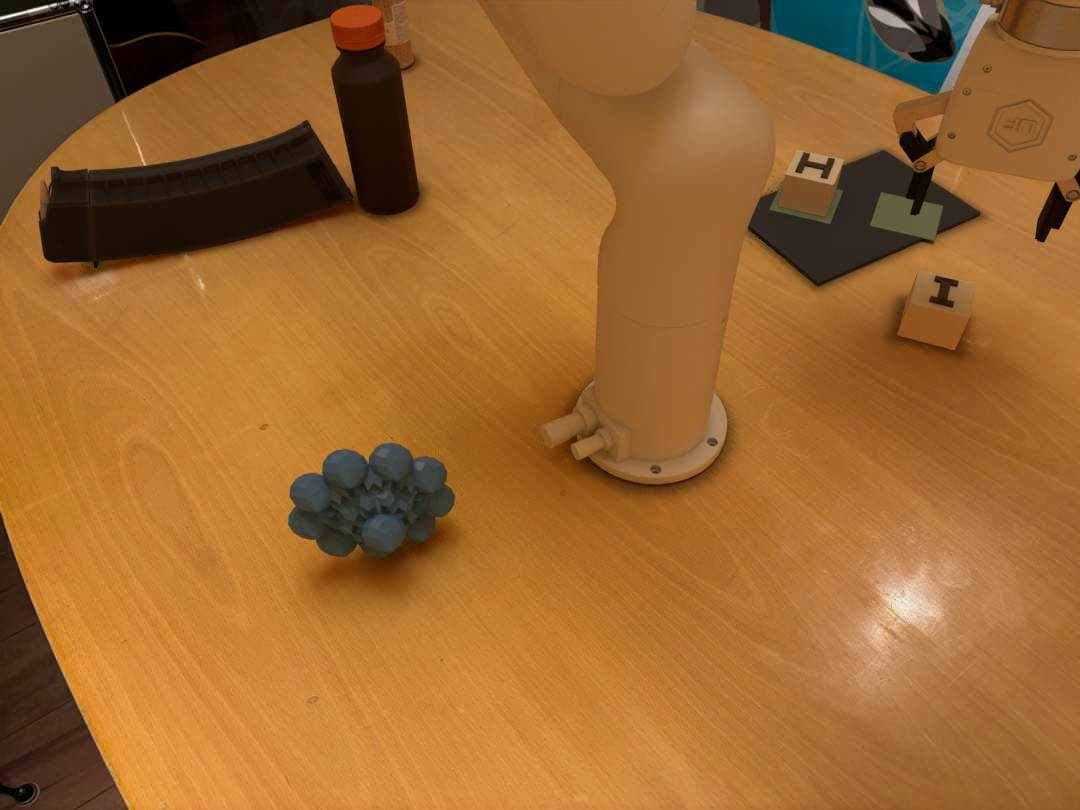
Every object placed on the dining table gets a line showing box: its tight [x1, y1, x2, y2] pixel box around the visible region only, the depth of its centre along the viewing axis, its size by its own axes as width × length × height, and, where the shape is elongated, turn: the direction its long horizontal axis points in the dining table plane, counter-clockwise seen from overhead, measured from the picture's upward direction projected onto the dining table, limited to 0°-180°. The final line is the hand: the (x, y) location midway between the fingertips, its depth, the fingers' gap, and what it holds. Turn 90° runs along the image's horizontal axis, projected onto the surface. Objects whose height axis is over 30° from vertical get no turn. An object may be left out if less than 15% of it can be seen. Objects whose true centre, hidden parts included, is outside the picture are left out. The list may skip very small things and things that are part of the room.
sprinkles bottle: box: [371, 0, 415, 70], centre depth 111 cm, size 5×5×13 cm
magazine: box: [37, 119, 355, 270], centre depth 88 cm, size 17×3×30 cm
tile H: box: [778, 149, 845, 217], centre depth 91 cm, size 5×5×4 cm
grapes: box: [287, 442, 456, 558], centre depth 60 cm, size 12×7×12 cm, turn 112°
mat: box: [747, 149, 982, 287], centre depth 92 cm, size 22×16×1 cm
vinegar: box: [329, 4, 420, 215], centre depth 88 cm, size 7×7×20 cm
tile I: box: [896, 268, 977, 351], centre depth 79 cm, size 5×5×4 cm
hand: (977, 218), depth 72 cm, fingers open, 9 cm apart
